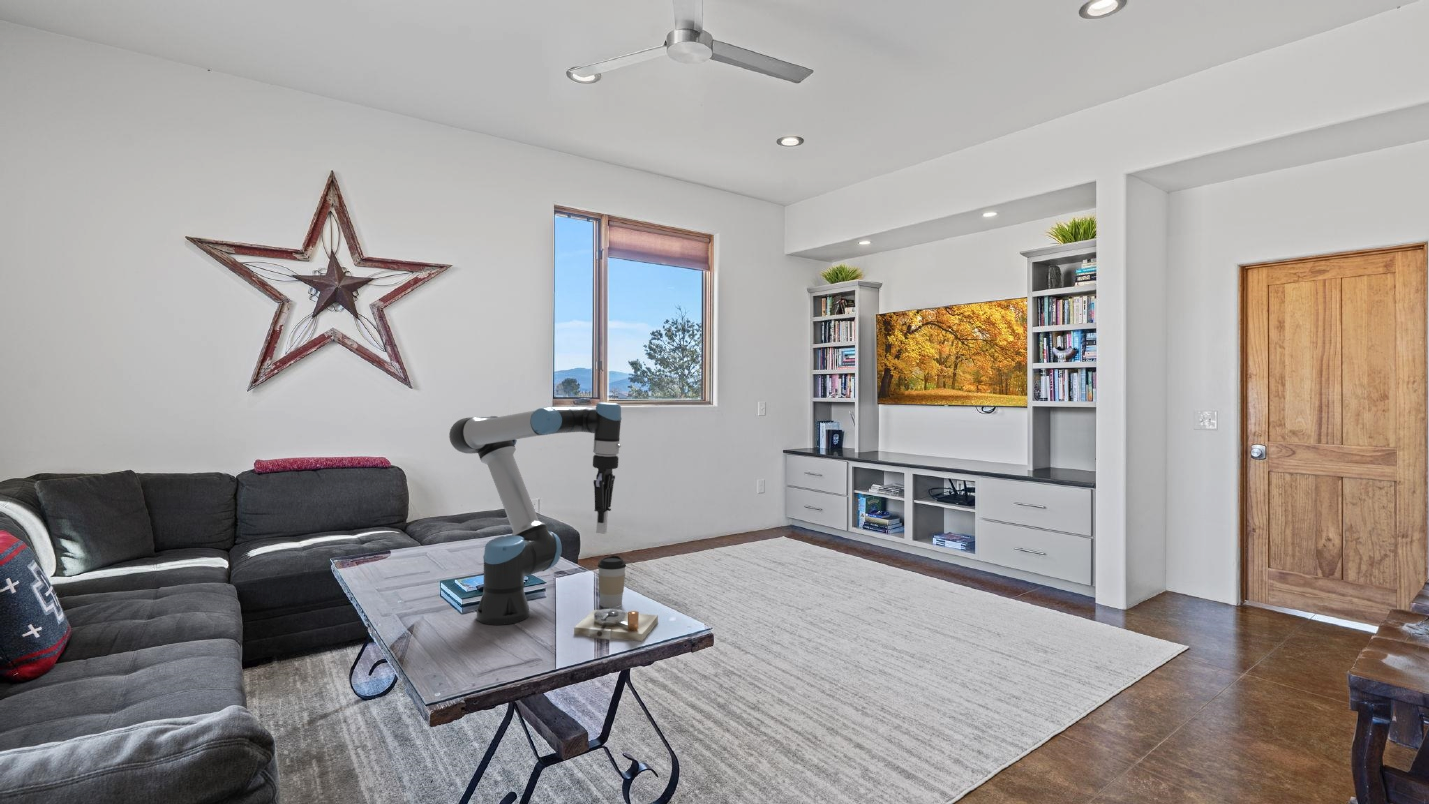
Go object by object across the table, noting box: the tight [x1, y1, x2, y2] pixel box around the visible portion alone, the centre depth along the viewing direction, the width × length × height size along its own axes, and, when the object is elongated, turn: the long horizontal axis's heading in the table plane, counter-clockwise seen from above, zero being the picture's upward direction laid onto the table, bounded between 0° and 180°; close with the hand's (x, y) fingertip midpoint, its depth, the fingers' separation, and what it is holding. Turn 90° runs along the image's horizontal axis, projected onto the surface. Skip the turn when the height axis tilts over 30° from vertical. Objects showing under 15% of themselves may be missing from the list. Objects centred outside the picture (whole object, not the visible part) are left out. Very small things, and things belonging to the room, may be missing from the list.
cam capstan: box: [594, 608, 640, 631], centre depth 195 cm, size 16×10×5 cm, turn 49°
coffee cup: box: [597, 555, 627, 609], centre depth 220 cm, size 9×9×15 cm
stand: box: [573, 609, 659, 642], centre depth 198 cm, size 20×18×2 cm
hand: (601, 532), depth 204 cm, fingers closed
